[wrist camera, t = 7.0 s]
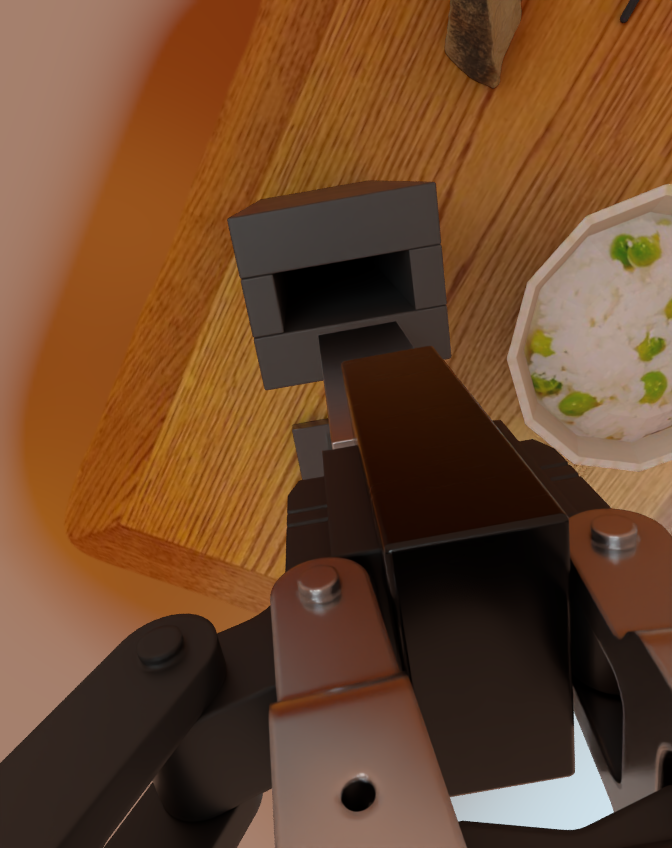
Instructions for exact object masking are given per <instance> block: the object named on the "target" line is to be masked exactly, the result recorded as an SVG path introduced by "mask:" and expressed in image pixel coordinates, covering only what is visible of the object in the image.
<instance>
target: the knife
mask: <svg viewBox="0 0 672 848" xmlns="http://www.w3.org/2000/svg"><path fill="white" fill-rule="evenodd" d="M318 339H319V347H320V355H321V363H322V371H323V378H324V386H325V394H326V402H327V410H328V418H329V426H330V434H331V442H332V448H333V449H337V448H343V447H348V446H354V445H357V449H358V454H359V459H360V463H361V468H362V472H363V477H364V481H365V486H366V491H367V495H368V500H369V504H370V509H371V513H372V518H373V523H374V527H375V532H376V536H377V541H378V545H379V550H380V556H381V562H382V568H383V574H384V580H385V586H386V591H387V597H388V603H389V609H390V615H391V621H392V627H393V633H394V639H395V644H396V650H397V656H398V662H399V668H400V671H406V673H407V675H408V677H409V680H410V682H411V685H412V688H413V691H414V694H415V697H416V700H417V703H418V706H419V708H420V711H421V714H422V717H423V720H424V723H425V726H426V729H427V732H428V735H429V738H430V741H431V744H432V747H433V750H434V753H435V756H436V759H437V761H438V764H439V767H440V770H441V773H442V776H443V779H444V782H445V785H446V788H447V791H448V794H449V797H454V796H459V795H465V794H471V793H477V792H482V791H488V790H494V789H500V788H505V787H511V786H517V785H523V784H528V783H534V782H540V781H546V780H551V779H557V778H563V777H569V776H571V775H573V774H574V773H575V754H574V709H573V666H572V623H571V580H570V537H569V517H568V516H567V514H566V512H565V511H564V510H563V509H562V507H561V506H560V505H559V504H558V502H557V501H556V500H555V499H554V497H553V496H552V495H551V494H550V492H549V491H548V490H547V489H546V487H545V486H544V485H543V484H542V482H541V481H540V480H539V479H538V477H537V476H536V475H535V474H534V472H533V471H532V470H531V469H530V467H529V466H528V465H527V464H526V462H525V461H524V460H523V459H522V457H521V456H520V455H519V454H518V452H517V451H516V450H515V449H514V447H513V446H512V445H511V444H510V442H509V441H508V440H507V439H506V437H505V436H504V435H503V434H502V432H501V431H500V430H499V429H498V427H497V426H496V425H495V424H494V422H493V421H492V420H491V419H490V417H489V416H488V415H487V414H486V412H485V411H484V410H483V409H482V407H481V406H480V405H479V404H478V402H477V401H476V400H475V399H474V397H473V396H472V395H471V394H470V392H469V391H468V390H467V389H466V387H465V386H464V385H463V384H462V382H461V381H460V380H459V379H458V377H457V376H456V375H455V374H454V372H453V371H452V370H451V369H450V367H449V366H448V365H447V364H446V362H445V361H444V360H443V359H442V357H441V356H440V355H439V354H438V352H437V351H436V350H435V349H434V347H433V346H425V347H419V348H414V347H413V345H412V344H411V343H410V341H409V340H408V338H407V337H406V335H405V334H404V332H403V331H402V329H401V328H400V326H399V325H398V324H397V322H396V321H394V322H389V323H383V324H378V325H372V326H367V327H361V328H356V329H350V330H345V331H339V332H334V333H328V334H323V335H319V336H318Z"/></svg>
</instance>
